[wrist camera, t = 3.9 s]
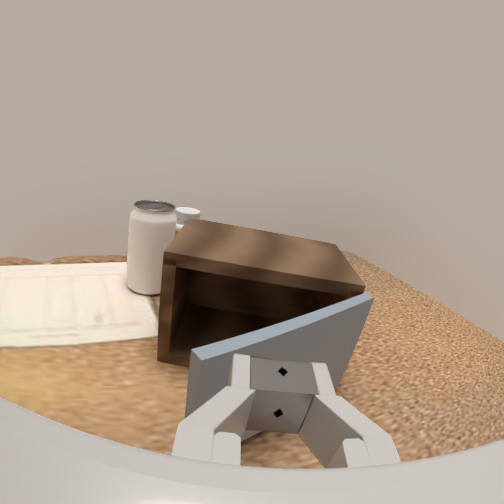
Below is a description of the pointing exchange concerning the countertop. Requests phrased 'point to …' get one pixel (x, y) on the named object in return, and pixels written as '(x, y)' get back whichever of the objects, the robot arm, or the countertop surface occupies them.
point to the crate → (242, 284)
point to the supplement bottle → (185, 216)
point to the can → (149, 244)
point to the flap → (282, 348)
